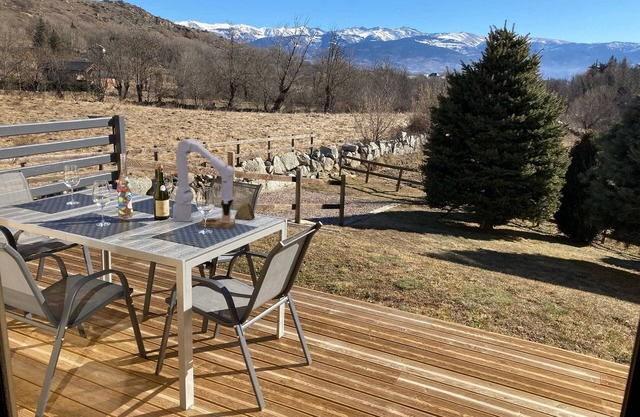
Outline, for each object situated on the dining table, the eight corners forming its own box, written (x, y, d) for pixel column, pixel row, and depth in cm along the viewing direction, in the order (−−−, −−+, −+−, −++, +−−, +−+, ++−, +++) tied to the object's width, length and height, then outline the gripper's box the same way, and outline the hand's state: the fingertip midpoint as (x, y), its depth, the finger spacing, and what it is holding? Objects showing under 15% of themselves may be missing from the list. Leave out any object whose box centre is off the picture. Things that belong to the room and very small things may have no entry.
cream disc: (219, 222, 248) (219, 221, 248) (220, 219, 255) (220, 218, 254) (232, 223, 248) (232, 222, 248) (233, 219, 255) (233, 218, 255)
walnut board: (200, 227, 245) (200, 223, 244) (203, 221, 256) (203, 218, 256) (233, 228, 247) (233, 224, 246) (235, 222, 258) (235, 218, 258)
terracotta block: (222, 220, 249) (222, 207, 248) (222, 218, 253) (223, 206, 252) (229, 220, 250) (230, 207, 248) (230, 219, 253) (230, 206, 252)
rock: (229, 215, 264) (243, 215, 259) (234, 201, 267) (248, 202, 262) (240, 223, 272) (254, 224, 267) (245, 210, 275) (258, 211, 271)
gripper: (233, 192, 241) (233, 217, 244) (235, 186, 255) (235, 211, 258) (219, 191, 240) (219, 217, 243) (222, 186, 254) (222, 211, 257)
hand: (226, 214), depth 251 cm, fingers closed on terracotta block, 4 cm apart
